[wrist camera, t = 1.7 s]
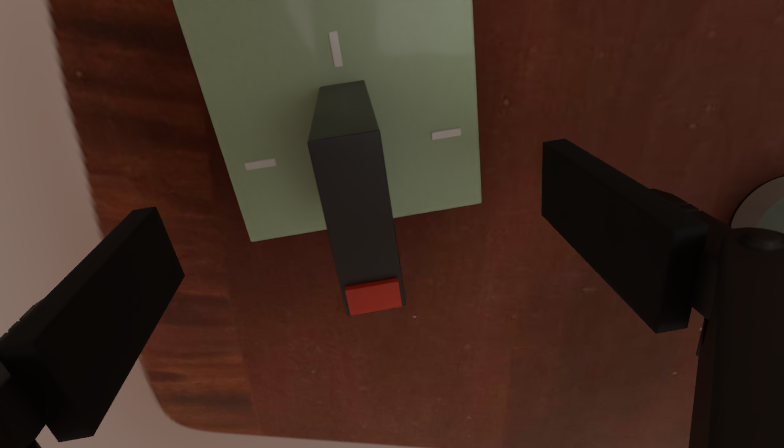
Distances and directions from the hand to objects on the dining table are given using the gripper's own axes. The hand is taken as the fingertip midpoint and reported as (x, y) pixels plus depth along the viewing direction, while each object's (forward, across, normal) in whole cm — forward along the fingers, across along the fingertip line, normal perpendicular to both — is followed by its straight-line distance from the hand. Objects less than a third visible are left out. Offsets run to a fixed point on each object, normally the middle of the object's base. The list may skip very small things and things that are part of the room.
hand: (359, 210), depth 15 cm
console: (+10, 0, +2) cm, 10 cm away
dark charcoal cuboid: (+6, 0, 0) cm, 6 cm away
